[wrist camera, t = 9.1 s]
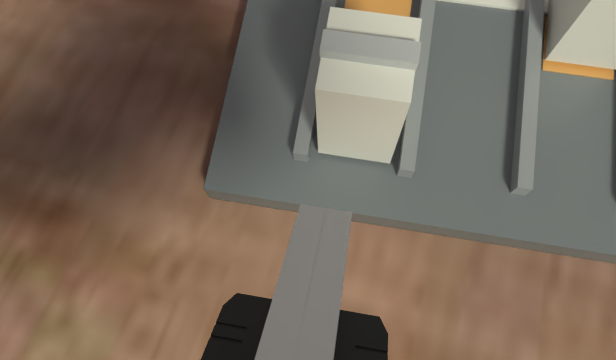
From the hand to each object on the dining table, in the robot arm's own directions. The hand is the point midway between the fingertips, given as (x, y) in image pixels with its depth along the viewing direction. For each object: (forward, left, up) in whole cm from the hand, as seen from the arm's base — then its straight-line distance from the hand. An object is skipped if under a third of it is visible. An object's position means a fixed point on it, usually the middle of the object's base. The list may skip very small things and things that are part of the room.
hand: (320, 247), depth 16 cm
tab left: (0, -9, -13) cm, 16 cm away
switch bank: (-6, -12, -15) cm, 20 cm away
